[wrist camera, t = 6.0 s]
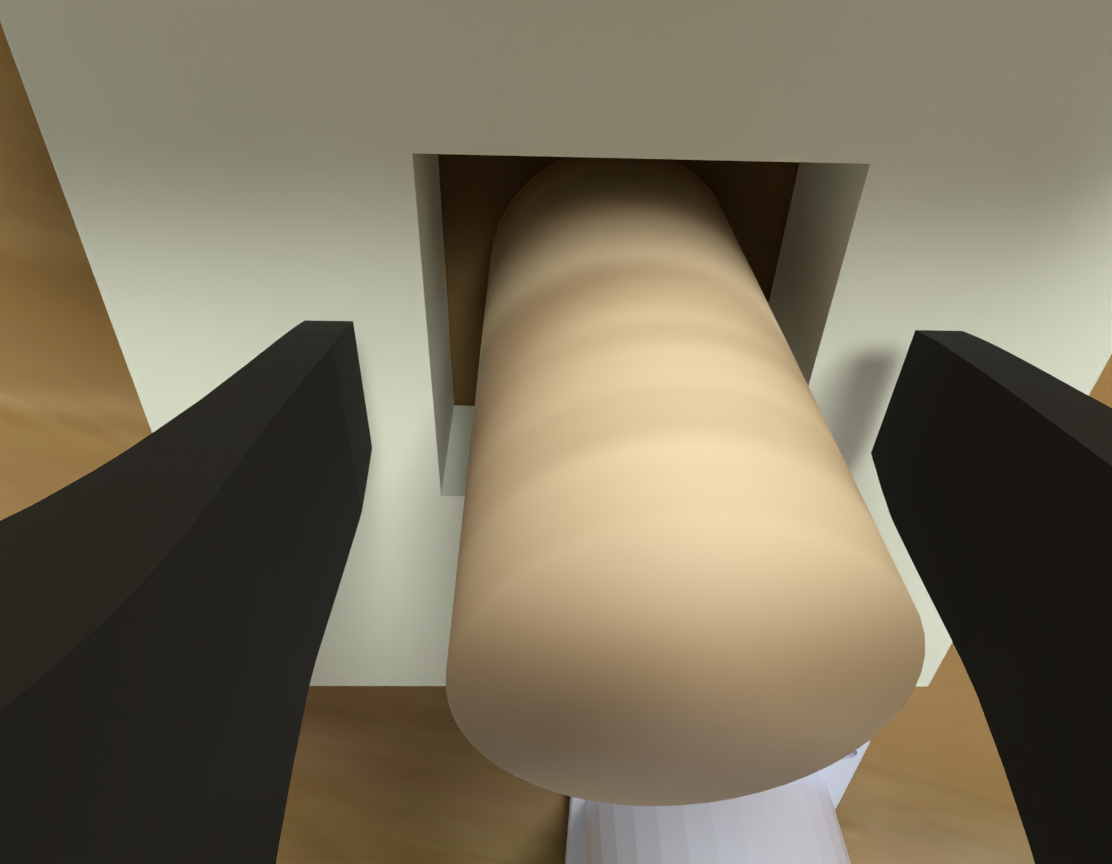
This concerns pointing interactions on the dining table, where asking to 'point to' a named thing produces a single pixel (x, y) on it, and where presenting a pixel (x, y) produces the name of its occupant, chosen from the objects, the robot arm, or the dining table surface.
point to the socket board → (566, 131)
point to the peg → (658, 514)
